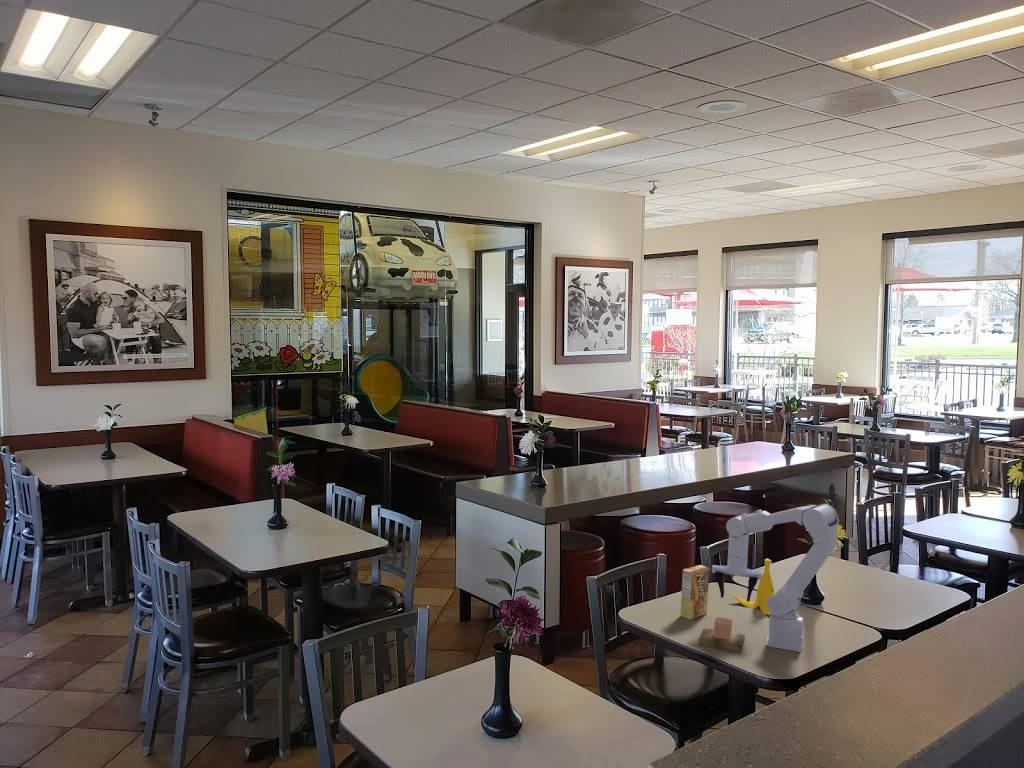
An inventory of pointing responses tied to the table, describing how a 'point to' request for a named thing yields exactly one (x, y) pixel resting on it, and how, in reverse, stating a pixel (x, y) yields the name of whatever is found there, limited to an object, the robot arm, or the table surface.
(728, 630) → the terracotta cube
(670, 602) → the table surface
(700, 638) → the walnut board
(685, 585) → the candy box
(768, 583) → the banana peel
